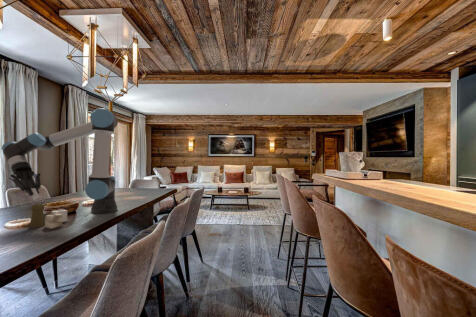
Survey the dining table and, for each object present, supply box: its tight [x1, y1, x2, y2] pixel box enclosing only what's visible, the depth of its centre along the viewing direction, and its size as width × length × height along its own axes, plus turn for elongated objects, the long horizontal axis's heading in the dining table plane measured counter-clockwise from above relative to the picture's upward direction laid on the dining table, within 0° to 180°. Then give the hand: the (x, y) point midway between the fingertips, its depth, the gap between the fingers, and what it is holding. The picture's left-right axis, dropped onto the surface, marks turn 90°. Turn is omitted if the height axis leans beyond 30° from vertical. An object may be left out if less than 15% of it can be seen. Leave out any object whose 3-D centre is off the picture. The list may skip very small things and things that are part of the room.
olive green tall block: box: [29, 203, 45, 228], centre depth 117 cm, size 6×6×11 cm
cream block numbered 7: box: [50, 209, 68, 223], centre depth 125 cm, size 5×5×6 cm
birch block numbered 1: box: [44, 213, 63, 229], centre depth 116 cm, size 5×5×6 cm
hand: (37, 199), depth 117 cm, fingers closed
